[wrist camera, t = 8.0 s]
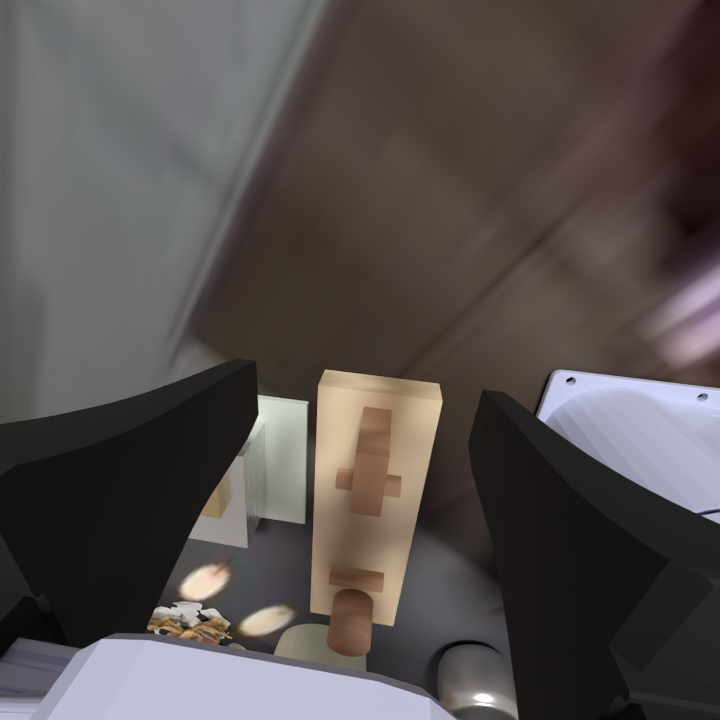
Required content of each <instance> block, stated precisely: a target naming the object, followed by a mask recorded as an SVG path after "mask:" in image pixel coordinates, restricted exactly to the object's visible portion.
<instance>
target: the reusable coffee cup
mask: <svg viewBox="0 0 720 720" xmlns="http://www.w3.org/2000/svg"><path fill="white" fill-rule="evenodd" d="M328 630H329V626H327V625H321V624H302V625H297V626H294V627H291V628H289V629H287V630H286V631H285V632H284V633H283V634H282V636H281V637H280V640H279V642H278V645H277V647H276V650H275V653H274V655H277V656H282V657H288V658H293V659H299V660H305V661H310V662H316V663H321V664H327V665H333V666H338V667H344V668H349V669H355V670H361V671H366V654H365V655H363V656H359V657H349V656H344V655H340V654H338V653H336V652H334V651H333V650H331V649H330V648H329V646H328V645H327V636H328Z"/></svg>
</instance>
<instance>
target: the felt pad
mask: <svg viewBox="0 0 720 720" xmlns="http://www.w3.org/2000/svg"><path fill="white" fill-rule="evenodd" d="M308 407H309V402H307V401H299V400H292V399H284V398H277V397H269V396H261V395H258V409H259V415H258V417H257V419H256V420H259V421H265V472H266V508H265V510H264V512H263V515H262V518H268V519H275V520H281V521H288V522H295V523H301V524H305V521H306V496H307V451H308Z"/></svg>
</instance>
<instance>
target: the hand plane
mask: <svg viewBox="0 0 720 720" xmlns="http://www.w3.org/2000/svg"><path fill="white" fill-rule="evenodd" d="M441 406H442V396H441V391H440V386H439V384H437V383H429V382H421V381H413V380H405V379H397V378H389V377H381V376H373V375H365V374H357V373H349V372H341V371H333V370H325V371H324V374H323V376H322V378H321V380H320V383H319V385H318V406H317V434H316V462H315V490H314V518H313V546H312V574H311V602H310V612H312V613H318V614H324V615H330V616H331V618H330V624H329V630H328V636H327V645H328V646H329V648H330V649H331V650H333V651H334V652H336V653H338V654H340V655H344V656H349V657H359V656H363V655H365V654H367V653H368V652H369V651H370V646H371V631H372V623H377V624H383V625H389V626H393V625H394V620H395V616H396V611H397V606H398V602H399V597H400V593H401V588H402V584H403V579H404V575H405V570H406V565H407V561H408V556H409V552H410V547H411V543H412V538H413V534H414V529H415V524H416V520H417V515H418V511H419V506H420V502H421V497H422V493H423V488H424V483H425V479H426V474H427V470H428V465H429V461H430V456H431V452H432V447H433V442H434V438H435V433H436V429H437V424H438V420H439V415H440V411H441Z"/></svg>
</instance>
